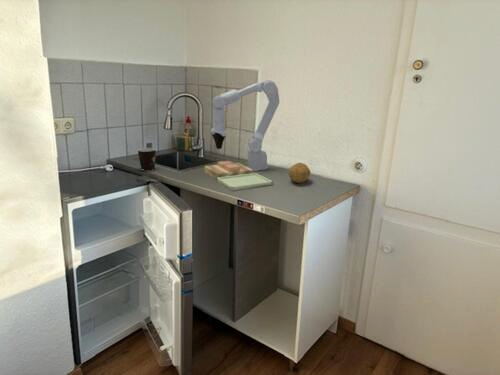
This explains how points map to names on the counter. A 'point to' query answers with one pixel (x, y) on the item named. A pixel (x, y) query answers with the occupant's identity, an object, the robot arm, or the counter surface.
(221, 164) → the tile rear
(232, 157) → the counter surface
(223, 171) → the flat food package
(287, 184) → the counter surface
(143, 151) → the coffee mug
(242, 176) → the tray
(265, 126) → the robot arm
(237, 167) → the tile front
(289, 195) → the counter surface
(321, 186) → the counter surface
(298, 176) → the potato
